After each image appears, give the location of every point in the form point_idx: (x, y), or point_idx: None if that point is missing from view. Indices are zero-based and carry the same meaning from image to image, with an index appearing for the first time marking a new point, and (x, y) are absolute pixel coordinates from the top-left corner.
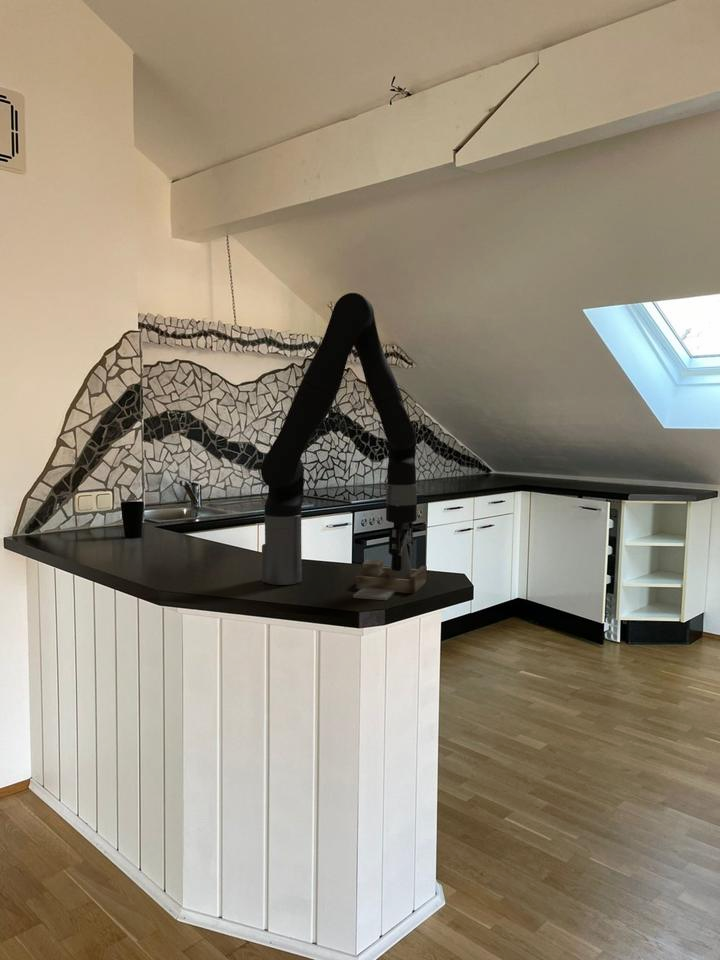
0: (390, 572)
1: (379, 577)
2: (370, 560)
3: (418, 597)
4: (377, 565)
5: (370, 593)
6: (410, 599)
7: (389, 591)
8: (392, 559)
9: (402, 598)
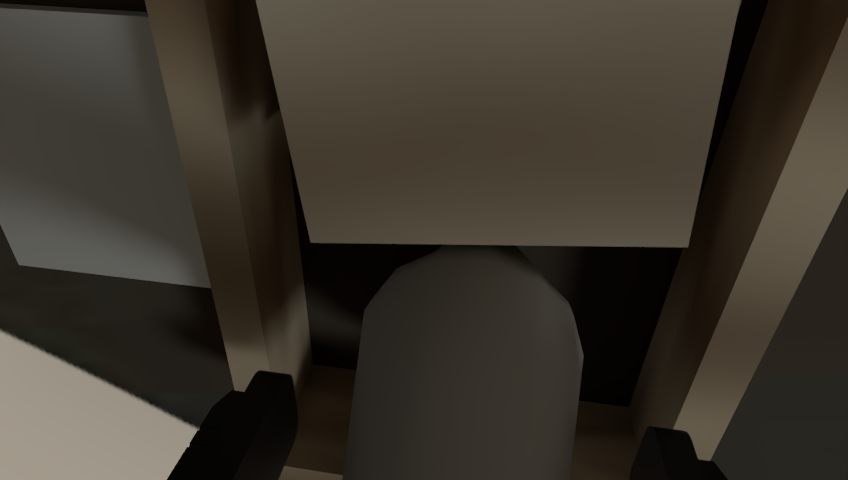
0: (411, 300)
1: (232, 211)
2: (590, 58)
3: (209, 403)
4: (314, 221)
5: (44, 139)
6: (145, 370)
7: (184, 262)
8: (203, 470)
9: (139, 333)
